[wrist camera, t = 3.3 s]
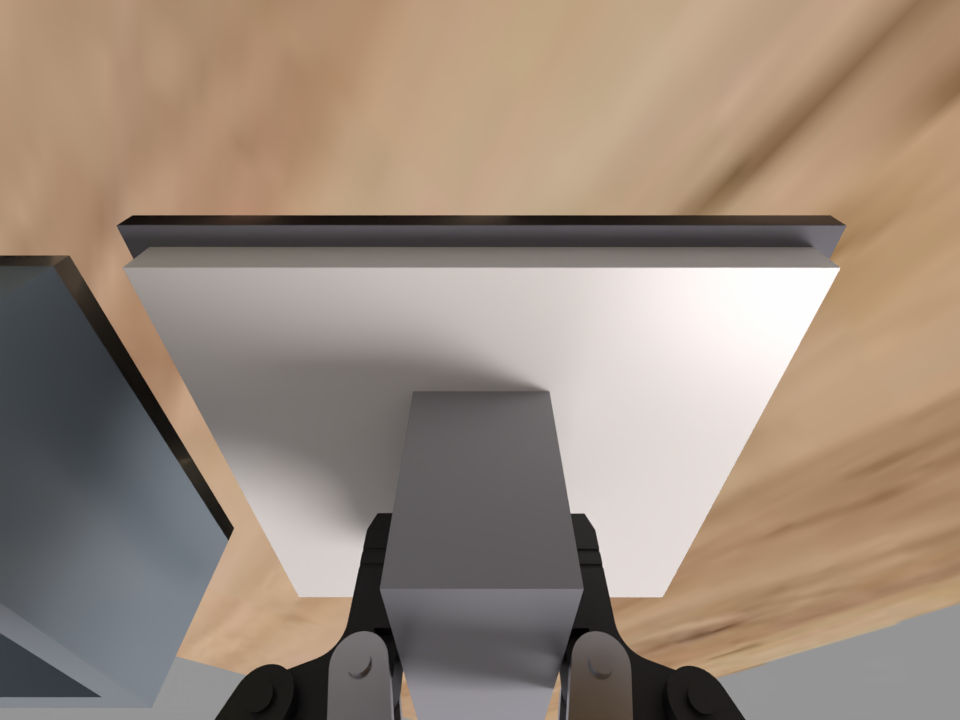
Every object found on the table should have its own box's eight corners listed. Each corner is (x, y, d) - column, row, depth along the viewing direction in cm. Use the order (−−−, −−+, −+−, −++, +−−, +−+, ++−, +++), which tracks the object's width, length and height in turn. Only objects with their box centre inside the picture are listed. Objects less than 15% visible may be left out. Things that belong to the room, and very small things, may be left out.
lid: (813, 247, 10) (1087, 456, 6) (655, 573, 20) (709, 753, 15) (149, 246, 10) (-122, 455, 6) (305, 573, 20) (251, 753, 15)
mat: (830, 215, 11) (846, 225, 10) (660, 565, 21) (664, 579, 20) (132, 215, 11) (116, 225, 10) (301, 565, 21) (297, 578, 20)
